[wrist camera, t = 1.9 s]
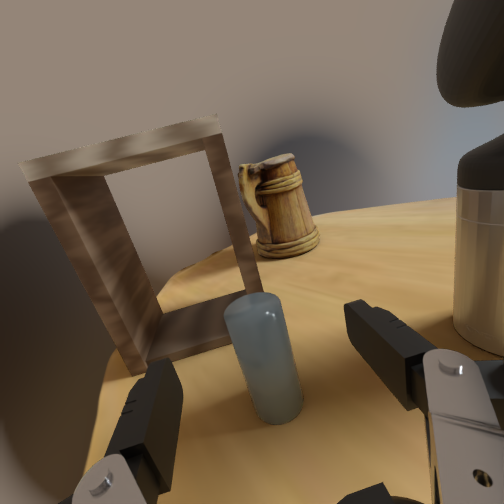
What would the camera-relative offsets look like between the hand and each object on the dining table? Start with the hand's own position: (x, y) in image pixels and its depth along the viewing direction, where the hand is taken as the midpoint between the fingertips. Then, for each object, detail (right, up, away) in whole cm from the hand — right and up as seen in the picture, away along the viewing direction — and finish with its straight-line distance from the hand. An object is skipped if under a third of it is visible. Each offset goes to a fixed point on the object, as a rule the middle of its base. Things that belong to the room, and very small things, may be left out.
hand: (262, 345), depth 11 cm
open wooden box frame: (-9, -9, +33) cm, 35 cm away
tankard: (+9, +5, +59) cm, 60 cm away
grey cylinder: (+2, -12, +16) cm, 20 cm away
